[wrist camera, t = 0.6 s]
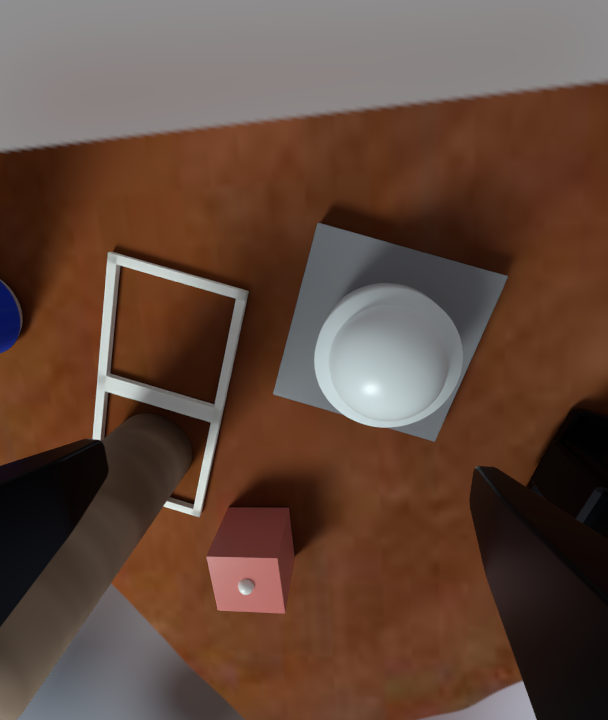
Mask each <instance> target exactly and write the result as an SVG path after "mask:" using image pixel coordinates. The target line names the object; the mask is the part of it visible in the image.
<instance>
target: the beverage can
mask: <svg viewBox="0 0 608 720" xmlns="http://www.w3.org/2000/svg"><path fill="white" fill-rule="evenodd" d="M22 322H23V316H22V310H21V307H20V304H19V302H18V299H17V298H16V296H15V294H14V293H13V291H12V290H11V289H10V288H9V287H8V286H7V285H6V284H5V283H4V282H3V281H2V280H1V279H0V353H2V352H4V351H7V350H8V349H9V348H11V347H12V346H13V345H14V343H15V342H16V340H17V338H18V336H19V334H20V331H21V328H22Z"/></svg>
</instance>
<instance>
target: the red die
mask: <svg viewBox="0 0 608 720" xmlns="http://www.w3.org/2000/svg"><path fill="white" fill-rule="evenodd" d="M294 558H295V555H294V547H293V539H292V530H291V522H290V514H289V508H267V507H228V509H227V511H226V514H225V516H224V518H223V520H222V523H221V525H220V527H219V529H218V532H217V534H216V536H215V539H214V541H213V543H212V545H211V548H210V550H209V552H208V554H207V561H208V566H209V571H210V576H211V580H212V585H213V590H214V594H215V599H216V604H217V608H218V610H219V611H242V612H264V613H285V611H286V605H287V599H288V593H289V588H290V582H291V576H292V570H293V564H294Z"/></svg>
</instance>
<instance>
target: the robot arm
mask: <svg viewBox="0 0 608 720" xmlns="http://www.w3.org/2000/svg"><path fill="white" fill-rule="evenodd" d="M580 416H583V418H582V419H581V420H580V421H577V419H578V418H579V417H580ZM108 472H109V466H108V461H107V456H106V451H105V446H104V443H103V442H102V441H101V440H96V439H83V440H80V441H77V442H74V443H70V444H67V445H64V446H61V447H58V448H55V449H52V450H49V451H45V452H42V453H39V454H36V455H33V456H30V457H27V458H24V459H20V460H17V461H14V462H11V463H8V464H5V465H2V466H0V627H1V626H2V624H3V623H4V622H5V620H6V619H7V618H8V617H9V615H10V614H11V613H12V611H13V610H14V609H15V607H16V606H17V605H18V603H19V602H20V601H21V599H22V598H23V597H24V595H25V594H26V593H27V591H28V590H29V589H30V588H31V586H32V585H33V584H34V582H35V581H36V580H37V578H38V577H39V576H40V574H41V573H42V572H43V570H44V569H45V568H46V566H47V565H48V564H49V563H50V561H51V560H52V559H53V557H54V556H55V555H56V553H57V552H58V551H59V549H60V548H61V547H62V545H63V544H64V543H65V541H66V540H67V539H68V537H69V536H70V535H71V533H72V532H73V530H74V529H75V527H76V526H77V524H78V523H79V521H80V520H81V518H82V517H83V515H84V513H85V512H86V510H87V509H88V507H89V505H90V504H91V502H92V501H93V499H94V498H95V496H96V494H97V493H98V491H99V490H100V488H101V486H102V485H103V483H104V482H105V480H106V478H107V476H108ZM470 510H471V514H472V518H473V523H474V527H475V531H476V536H477V540H478V544H479V549H480V553H481V557H482V562H483V566H484V570H485V573H486V577H487V580H488V583H489V586H490V589H491V592H492V594H493V597H494V600H495V603H496V606H497V609H498V611H499V614H500V617H501V620H502V623H503V625H504V628H505V631H506V634H507V637H508V640H509V642H510V645H511V648H512V651H513V654H514V657H515V659H516V662H517V665H518V668H519V671H520V673H521V676H522V679H523V682H524V685H525V688H526V690H527V693H528V696H529V699H530V702H531V705H532V707H533V710H534V713H535V716H536V719H537V720H608V416H607V415H604V414H600V413H597V412H593V411H590V410H586V409H583V408H577V409H574V410H572V411H571V412H570V413H569V414H568V416H567V418H566V420H565V421H564V423H563V425H562V427H561V428H560V430H559V432H558V434H557V435H556V437H555V439H554V441H553V442H552V443H551V444H550V446H549V447H548V449H547V451H546V453H545V454H544V456H543V458H542V460H541V461H540V463H539V465H538V467H537V468H536V470H535V472H534V474H533V476H532V477H531V481H530V483H529V484H528V486H527V487H525V486H524V485H522V484H521V483H519V482H517V481H516V480H514V479H513V478H511V477H510V476H508V475H507V474H505V473H503V472H502V471H500V470H499V469H497V468H495V467H485V466H477V467H476V468H475V469H474V472H473V478H472V485H471V492H470Z"/></svg>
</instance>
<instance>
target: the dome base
mask: <svg viewBox="0 0 608 720" xmlns="http://www.w3.org/2000/svg"><path fill="white" fill-rule="evenodd" d="M507 278H508V276H505V275H502V274H498V273H495V272H491V271H488V270H484V269H481V268H477V267H474V266H470V265H467V264H463V263H459V262H456V261H452V260H449V259H445V258H442V257H438V256H435V255H431V254H427V253H424V252H420V251H417V250H413V249H410V248H406V247H403V246H399V245H396V244H392V243H388V242H385V241H381V240H378V239H374V238H371V237H367V236H364V235H360V234H357V233H353V232H349V231H346V230H342V229H339V228H335V227H332V226H328V225H325V224H321V223H317V227H316V231H315V235H314V239H313V243H312V246H311V250H310V254H309V258H308V262H307V266H306V269H305V273H304V277H303V281H302V285H301V289H300V292H299V296H298V300H297V304H296V308H295V312H294V316H293V319H292V323H291V327H290V331H289V335H288V339H287V342H286V346H285V350H284V354H283V358H282V362H281V365H280V369H279V373H278V377H277V381H276V385H275V388H274V392H273V394H274V395H277V396H281V397H284V398H288V399H291V400H294V401H298V402H301V403H305V404H308V405H311V406H315V407H318V408H322V409H325V410H329V411H332V412H335V413H339V414H342V413H340V412H339V411H338V410H337V409H336V408H335V407H334V406H333V405H332V404H331V403H330V402H329V401H328V399H327V398H326V397H325V395H324V394H323V392H322V390H321V388H320V386H319V383H318V380H317V378H316V373H315V365H314V356H315V348H316V344H317V340H318V337H319V333H320V330H321V327H322V325H323V322H324V320H325V318H326V316H327V315H328V313H329V312H330V310H331V309H332V308H333V307H334V306H335V305H336V303H337V302H338V301H340V300H341V299H342V298H343V297H344V296H346V295H347V294H349V293H351V292H352V291H354V290H356V289H359V288H361V287H364V286H367V285H371V284H376V283H397V284H401V285H406V286H409V287H411V288H414V289H416V290H418V291H420V292H422V293H423V294H424V295H426V296H427V297H429V298H430V299H431V300H432V301H433V302H435V303H436V304H437V305H438V306H439V307H440V308H441V309H442V310H444V311H445V312H446V314H447V315H448V316H449V317H450V319H451V320H452V321H453V323H454V325H455V327H456V328H457V331H458V333H459V336H460V339H461V344H462V350H463V363H462V369H461V374H460V377H459V380H458V382H457V384H456V386H455V388H454V390H453V392H452V393H451V395H450V396H449V398H448V399H447V400H446V401H445V402H444V403H443V404H442V405H441V406H440V407H439V408H438V409H437V410H436V411H434V412H433V413H431V414H430V415H428V416H427V417H425V418H423V419H421V420H419V421H417V422H414V423H411V424H408V425H404V426H399V427H386V428H390V429H393V430H397V431H400V432H403V433H407V434H410V435H414V436H417V437H420V438H424V439H427V440H431V441H434V442H435V440H436V437H437V435H438V433H439V431H440V428H441V426H442V424H443V422H444V419H445V417H446V415H447V413H448V410H449V408H450V406H451V404H452V402H453V399H454V397H455V395H456V393H457V390H458V388H459V386H460V384H461V381H462V379H463V377H464V375H465V372H466V370H467V368H468V366H469V363H470V361H471V359H472V357H473V354H474V352H475V350H476V348H477V345H478V343H479V341H480V339H481V336H482V334H483V332H484V330H485V327H486V325H487V323H488V321H489V318H490V316H491V314H492V312H493V309H494V307H495V305H496V303H497V300H498V298H499V296H500V294H501V291H502V289H503V287H504V285H505V282H506V280H507ZM342 415H343V414H342Z"/></svg>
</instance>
